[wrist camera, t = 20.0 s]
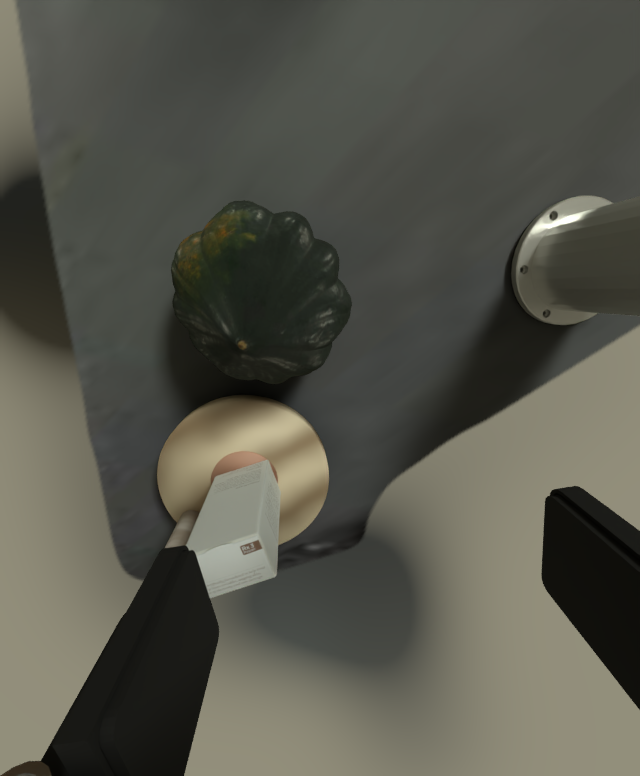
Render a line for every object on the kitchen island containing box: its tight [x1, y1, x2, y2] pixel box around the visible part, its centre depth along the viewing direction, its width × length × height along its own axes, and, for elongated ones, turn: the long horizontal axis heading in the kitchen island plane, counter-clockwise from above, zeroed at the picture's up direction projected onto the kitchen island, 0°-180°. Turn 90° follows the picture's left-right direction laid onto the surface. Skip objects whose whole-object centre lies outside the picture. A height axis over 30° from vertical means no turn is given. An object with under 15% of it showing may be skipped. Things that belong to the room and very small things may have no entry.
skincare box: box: [186, 460, 281, 598], centre depth 30 cm, size 6×4×12 cm
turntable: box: [157, 395, 329, 548], centre depth 34 cm, size 18×18×8 cm
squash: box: [171, 201, 352, 384], centre depth 29 cm, size 14×15×15 cm
